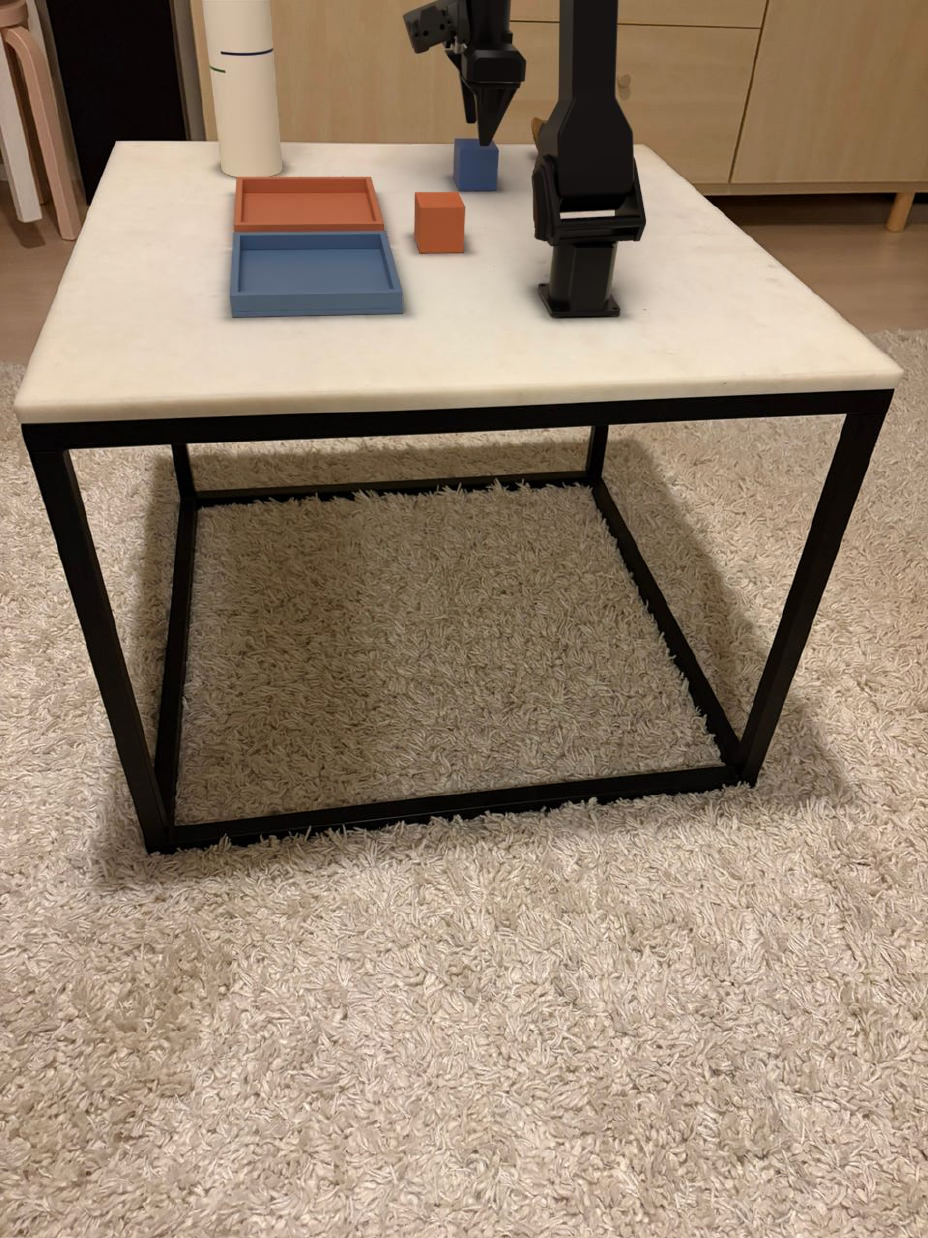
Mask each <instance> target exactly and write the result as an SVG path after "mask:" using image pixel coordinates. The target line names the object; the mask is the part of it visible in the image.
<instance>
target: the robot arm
mask: <svg viewBox="0 0 928 1238" xmlns="http://www.w3.org/2000/svg"><path fill="white" fill-rule="evenodd" d="M558 3H559V9H558V12H559V13H558V15H559V17H558V93H557V94H558V95H557V102H556V104H555V106H554V108H553V109H552V111H551V113H550V115H549V117H548V119H547V120H548V121H547V123H542V124H541V126H540V128H539V131H538V134H537V142H538V150H537V158H536V159H535V162H534V166H533V170H532V173H531V187H532V188H531V189H532V220H533V225H534V233H533V234H534V235H533V237H534V238H535V239H536V240H538V241H541V242H542V241H543V242H546V243H547V244H548V245H549V246H550V248H551V247H552V251H551V253H552V254H551V262H550V271H549V279H548V280H549V282H541V283H538V284H537V288H536V289H537V291H538V293H539V296H540V298H541V299H542V301H543V303H544V305H545V306H546V308H547V311H548V312H549V314H550V315H551V317H552V316H553V317H560V318H561V317H593V316H594V317H595V316H596V317H597V316H598V317H599V316H619V315H620V314H621V309H622V308H621V307H620V306H619V304H618V302H617V301H616V299H615V298H614V297H613V295H612V293H611V291H612V285H613V279H614V271H615V265H616V259H617V252H618V245H619V243H620V242H635V243H637V242H641V239H642V238H643V237H642V236H643V235H644V234H643V233H644V231H645V228H646V226H647V217H646V211H645V204H644V199H643V193H642V188H641V182H640V177H639V171H638V170H639V169H638V165H637V160H636V158H635V149H634V147H635V146H634V131H633V128H632V126H631V124H630V122H629V121H628V119H627V116H626V115H625V113H624V111H623V109H622V107H621V104H620V103H619V101H618V99H617V96H616V95H617V92H616V89H617V87H616V86H617V85H616V84H617V60H618V59H617V57H618V56H617V54H618V29H619V27H618V25H619V0H559V1H558ZM511 9H512V0H434V1H431V2H429V3H427V4H424V5H422V6H419V7H416V8H414V9H412V10H409V11H407V12H404V14H403V15H402V19H403V22H404V26H405V29H406V32H407V36H408V39H409V43H410V45H411V48H412V49H413V52H414V54H415V55H420V54H423V53H426V52H428V51H429V50H430V49H431V48H433V47H435V46H437V45H441V44H442V46H443V48H444V54H445V55H446V56H447V58H448V59H449V60H450V62H451V63H452V64H453V65H454V67H455V68H456V69H457V73H458V79H459V84H460V86H459V87H460V91H461V92H460V93H461V98H462V104H463V111H464V117H465V122H466V123H467V124H469V125H473V124H476V127H477V129H476V130H477V135H478V136H477V137H478V138H477V139H479V144H480V146H489V145H490V143H491V141H492V140H494V137H495V135H496V133H497V131H498V128H499V126H500V124H501V123H502V120H503V118H504V116H505V115H506V112H507V110H508V109H509V106H510V104H511V103H512V101H513V99H514V97H515V95H516V93H517V91H518V90H519V89H520V88H521V85H522V83H524V82H526V72H527V59H526V58H525V57H524V56H523V55H522V53H521V52H520V51H519V49H518V48H517V47H516V46H515V45H514V44H513V41H514V32H512V30H511V29H510V26H511V25H510V23H511ZM611 211H614V215H605V216H604V215H603V216H584V217H583V216H582V217H581V216H580V217H564V218H562V217H561V214H573V213H575V214H576V213H592V212H594V213H595V212H611Z"/></svg>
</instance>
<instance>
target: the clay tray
mask: <svg viewBox="0 0 928 1238" xmlns="http://www.w3.org/2000/svg"><path fill="white" fill-rule="evenodd" d="M235 179H236V181H235V194H234V195H235V196H234V212H233V213H234V214H233V231H234V232H233V233H241V232H348V231H385V223H384V222H385V221H384V219H383V215H382V211H381V208H380V205H379V200H378V197H377V194H376V189H375V186H374V182H373V179H372V176H270V177H235Z"/></svg>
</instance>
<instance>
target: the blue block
mask: <svg viewBox="0 0 928 1238" xmlns="http://www.w3.org/2000/svg"><path fill="white" fill-rule="evenodd" d="M453 143H454V144H453V171H452V179H453V182H454V183H455V186H456V188H457V190H458V192H496V191H497V187H498V175H499V174H498V173H499V159H500V158H499V157H500V154H499V153H500V149H499V147H498V146H497V145H496V143H495V141H494V139H492V141H491V143H490V145H489V146H480V144H479V138H476V137H475V138H468V137H467V138H465V137H464V138H463V137H460V138H458V137H457V138H456V137H455V138H454V142H453Z"/></svg>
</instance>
